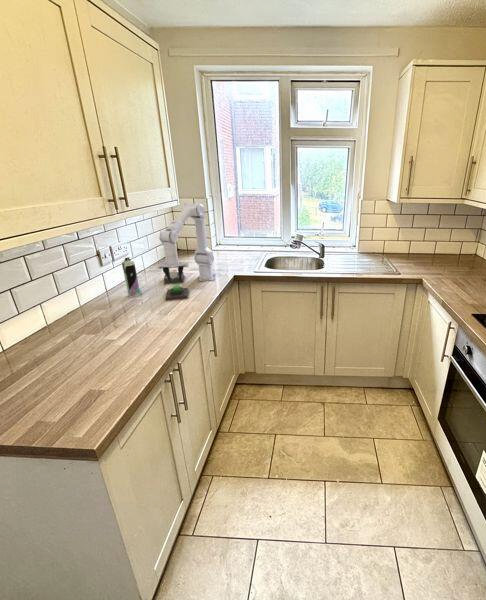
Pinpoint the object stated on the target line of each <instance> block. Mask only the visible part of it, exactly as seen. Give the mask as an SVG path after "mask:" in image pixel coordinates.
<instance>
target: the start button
mask: <svg viewBox="0 0 486 600" xmlns="http://www.w3.org/2000/svg"><path fill="white" fill-rule="evenodd" d="M180 287H181V285H173V286H172V287H171V288H173V291H177V290H180Z"/></svg>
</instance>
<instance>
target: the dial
mask: <svg viewBox="0 0 486 600" xmlns="http://www.w3.org/2000/svg"><path fill="white" fill-rule="evenodd" d="M169 272H170V277H171V278H176V277H178V276H177V272H178V269H169Z"/></svg>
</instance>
